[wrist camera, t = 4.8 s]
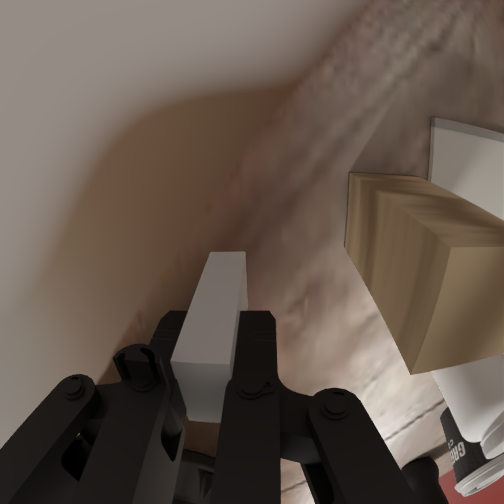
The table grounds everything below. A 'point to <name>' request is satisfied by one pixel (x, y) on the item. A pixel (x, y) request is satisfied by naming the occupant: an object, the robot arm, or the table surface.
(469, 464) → the coffee cup
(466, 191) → the shallow grey tray
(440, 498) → the cola bottle
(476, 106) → the table surface
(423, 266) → the oak block
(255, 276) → the table surface
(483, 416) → the pill bottle
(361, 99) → the table surface
